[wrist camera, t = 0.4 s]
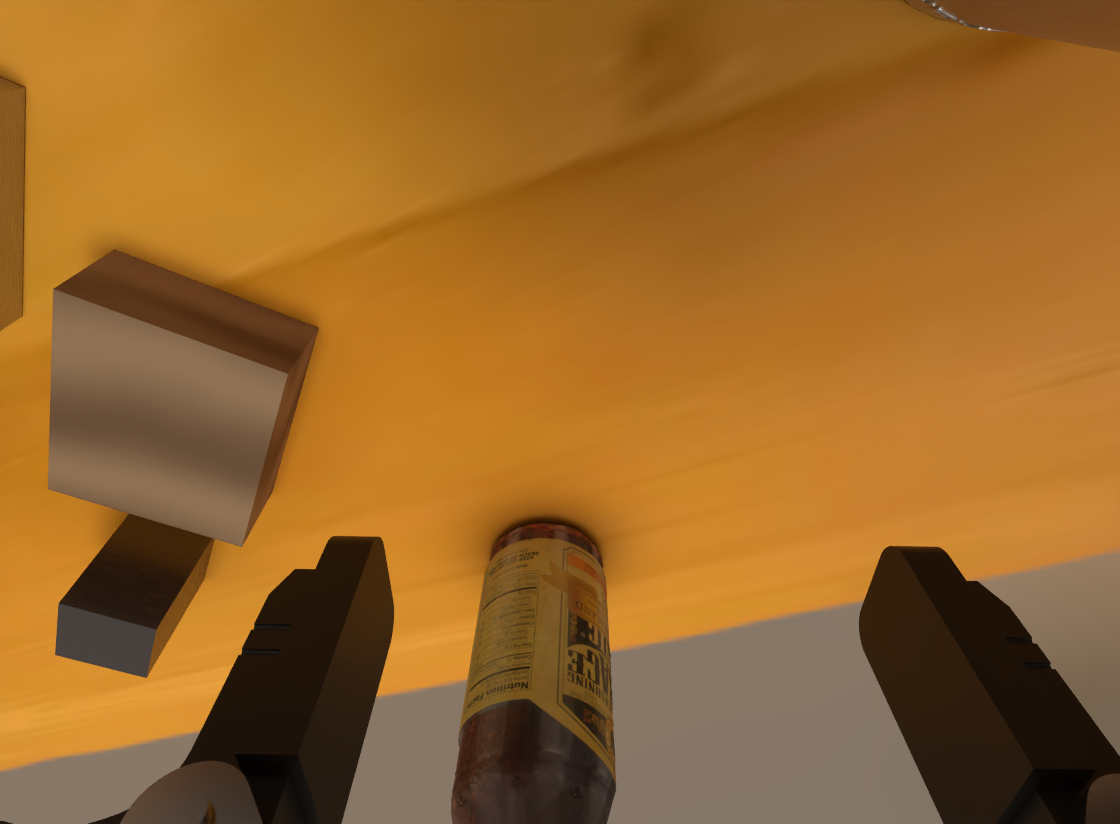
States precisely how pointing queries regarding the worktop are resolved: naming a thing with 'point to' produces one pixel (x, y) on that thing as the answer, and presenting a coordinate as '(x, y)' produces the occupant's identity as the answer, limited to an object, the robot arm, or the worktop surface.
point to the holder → (11, 200)
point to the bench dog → (132, 596)
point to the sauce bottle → (538, 687)
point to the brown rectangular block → (170, 396)
